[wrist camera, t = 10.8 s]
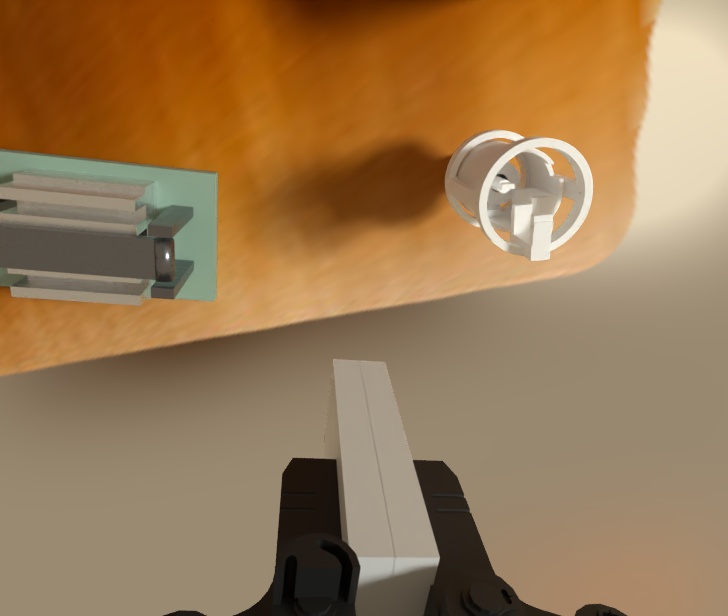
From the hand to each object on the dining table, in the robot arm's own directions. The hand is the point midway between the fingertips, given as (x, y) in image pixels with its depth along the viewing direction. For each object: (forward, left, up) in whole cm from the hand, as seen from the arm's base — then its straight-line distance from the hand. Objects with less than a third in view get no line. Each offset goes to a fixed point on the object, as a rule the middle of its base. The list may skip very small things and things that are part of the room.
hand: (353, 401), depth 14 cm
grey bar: (+4, -18, -24) cm, 30 cm away
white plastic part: (-4, +12, -31) cm, 33 cm away
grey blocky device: (+4, -19, -29) cm, 35 cm away
